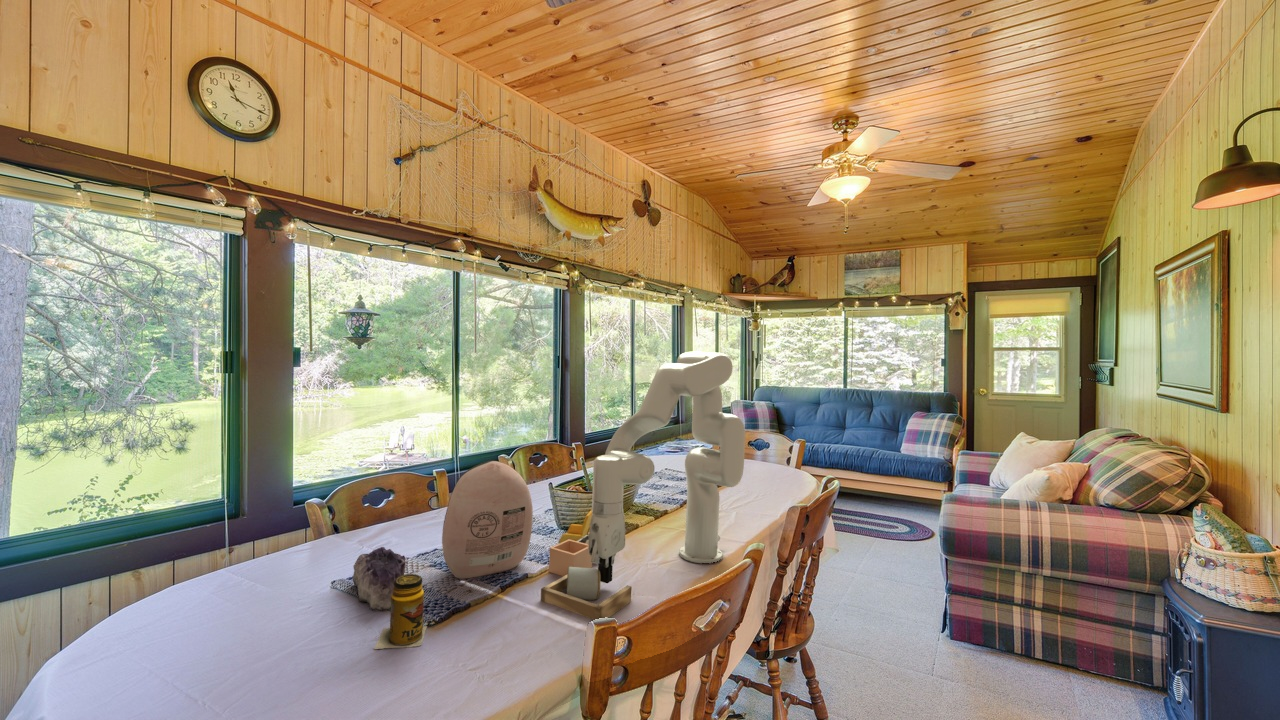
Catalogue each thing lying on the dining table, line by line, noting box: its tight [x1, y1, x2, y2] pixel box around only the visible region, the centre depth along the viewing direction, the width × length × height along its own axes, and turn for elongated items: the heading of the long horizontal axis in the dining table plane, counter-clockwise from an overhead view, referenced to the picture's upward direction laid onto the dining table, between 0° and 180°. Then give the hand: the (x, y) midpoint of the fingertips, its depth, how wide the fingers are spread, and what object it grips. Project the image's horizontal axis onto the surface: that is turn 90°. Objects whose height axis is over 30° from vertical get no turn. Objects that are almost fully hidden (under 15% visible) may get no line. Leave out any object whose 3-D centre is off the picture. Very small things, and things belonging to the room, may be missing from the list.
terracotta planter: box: [548, 539, 593, 577], centre depth 140 cm, size 8×8×7 cm
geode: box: [352, 546, 407, 612], centre depth 125 cm, size 20×12×10 cm, turn 35°
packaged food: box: [441, 460, 534, 580], centre depth 137 cm, size 22×20×30 cm
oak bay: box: [540, 574, 633, 620], centre depth 124 cm, size 13×16×4 cm
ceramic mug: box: [565, 567, 601, 601], centre depth 128 cm, size 10×8×7 cm
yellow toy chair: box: [557, 509, 592, 544], centre depth 164 cm, size 10×10×9 cm
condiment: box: [373, 573, 428, 650], centre depth 106 cm, size 7×8×12 cm
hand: (604, 580), depth 131 cm, fingers closed
